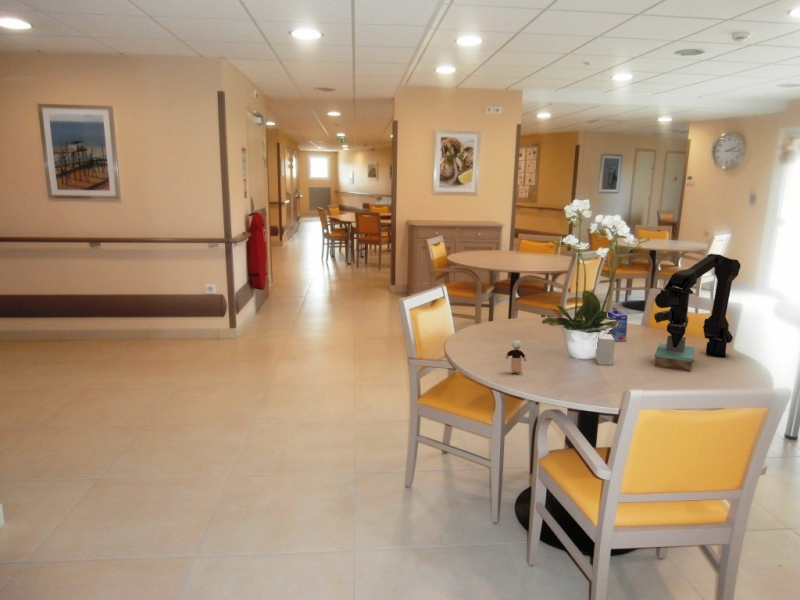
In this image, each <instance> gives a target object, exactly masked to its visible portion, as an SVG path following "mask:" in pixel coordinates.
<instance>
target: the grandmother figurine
mask: <svg viewBox="0 0 800 600" xmlns="http://www.w3.org/2000/svg"><path fill="white" fill-rule="evenodd" d="M521 345H522V343H521V341H520V340H514V341H513V342H512V343H511V347H512V348H513V349H512V350H509V351H508V352H507V353H506V356H505V357H504V358H505V359H506V360H507V359H509V357H511V358H510V359H511V361H510V367H511V369H510V370H511V371H512V373H515V372H516V373H518V374H517V375H519V374H521V375H523V374H524V372H523V370H522V369H523V367H522V359H523V362H527V358H526V354H525V353H524V352H523V351H522V350H520V348H521ZM522 373H523V374H522Z"/></svg>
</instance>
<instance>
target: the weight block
mask: <svg viewBox="0 0 800 600" xmlns="http://www.w3.org/2000/svg"><path fill="white" fill-rule="evenodd" d="M686 339H687V338H686V336H683V337H682V339H681V341H680V342H679V344H678V346H677V347H676V348H674V347H673V342H672V336H671V334H669V335H668V336H667V338H666V344H667V347H666V351H672V352H680V353H684V348H685V346H686Z"/></svg>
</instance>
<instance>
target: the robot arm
mask: <svg viewBox="0 0 800 600" xmlns="http://www.w3.org/2000/svg"><path fill="white" fill-rule="evenodd" d="M741 267H742V266H741V263H740V262H739V260H738V259H734V258H728V257H726V256H724V255H722V254H718V253H709V254H707V255H706V256H705V257H704V258H703V259H701V260H699V261H698V262H696V263H695V264H693V265H692V266H690V267H688V268H687V269H682V270H678V271H676V272H674V273H672V275H671V277H670V278H669V280H668V282H667V283H666V285H665V287H664V289H661V290H660V291H659V293H658V294H657V295H656V296H655V298H654V302H655V305H656V306H657V307H658V308H660V309H667V308H668V310H664V311H663V310H662V311H659V312H656V313H654V315H653V316H654V320H655V322H656V323H657V324H658V323H660V322H665V321H668V323H667V325H666V332H667V333H668V334H669V335H670V336H672V342H673V347H674V348H676V347H677V346H678V344H679V342H680V341H681V339H682V337H684V335H685V334H686V329H687V326H688V324H689V317H688V313H689V312H688V311H689V302H690V301H689V300H690V295H691V294H692V295H693V294H694V291H693V290H692V289H691V288H692V287H694V286H695V285H696V284H697V281H698V279H699V278H700V277H702V276H703V275H705V274H707V273H708V272H709V271H711V270H713V269H714V275H715V277H716V281H717V282H716V287H715V292H714V298H713V304H712V309H711V315H710V316H709V317H708V318H705V319H704V321H703V322H704V323H703V326H702V329H703V334H704V339H707V340H708V341H707V342H706V348H705V353H706V356H711V357H718V358H726V355H727V354H726V351H727V346H728V345H727V344H730V343H731V342H733V339H734V336H733V335H732V334H731V332H730V330H729V327H730V326H729V324H730V323H729V321H728V320H727V318H726V317H727V312H728V310H727V309H728V306H729V299H730V294H731V290H732V283H733V282H734V280H735V279H736V278H737V277H738V276H739V273H740V270H741Z"/></svg>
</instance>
